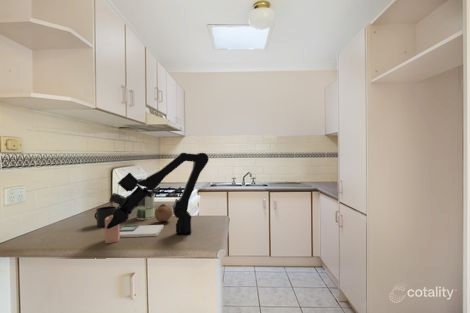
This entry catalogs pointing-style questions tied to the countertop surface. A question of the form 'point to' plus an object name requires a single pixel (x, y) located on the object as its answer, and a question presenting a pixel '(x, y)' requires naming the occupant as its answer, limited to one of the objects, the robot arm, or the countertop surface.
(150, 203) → the coffee can
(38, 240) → the countertop surface
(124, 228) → the build board
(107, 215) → the mug
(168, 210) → the onion
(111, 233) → the pillar
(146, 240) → the countertop surface
